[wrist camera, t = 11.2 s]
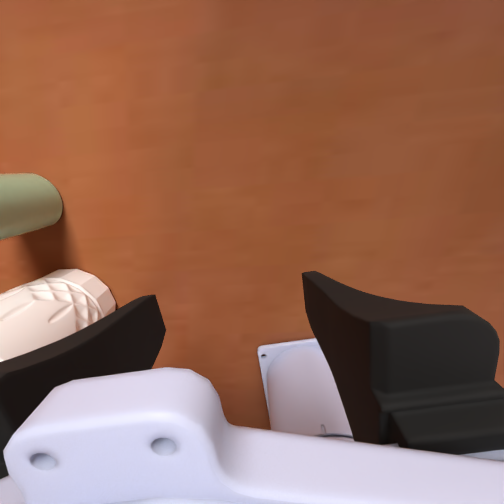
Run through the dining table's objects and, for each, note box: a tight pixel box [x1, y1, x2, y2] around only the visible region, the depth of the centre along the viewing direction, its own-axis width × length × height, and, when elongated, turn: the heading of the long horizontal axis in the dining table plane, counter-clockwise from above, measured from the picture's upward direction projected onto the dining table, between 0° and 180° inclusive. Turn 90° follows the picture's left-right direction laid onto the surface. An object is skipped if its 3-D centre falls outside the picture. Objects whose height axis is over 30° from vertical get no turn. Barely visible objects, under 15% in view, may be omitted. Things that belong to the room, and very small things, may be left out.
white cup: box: [0, 269, 116, 362], centre depth 18 cm, size 8×8×10 cm
